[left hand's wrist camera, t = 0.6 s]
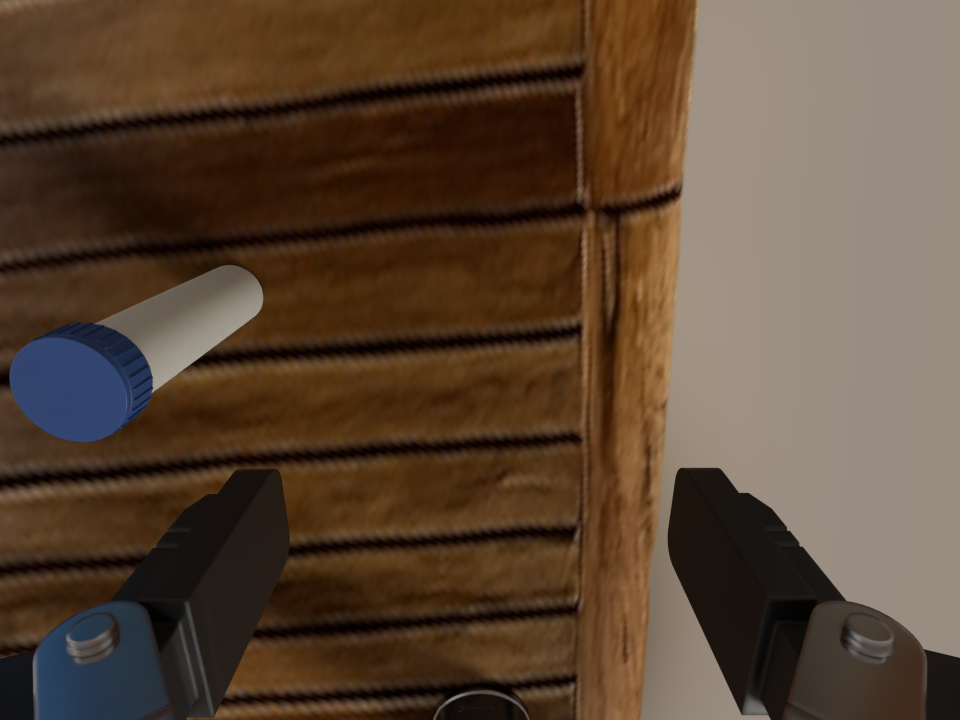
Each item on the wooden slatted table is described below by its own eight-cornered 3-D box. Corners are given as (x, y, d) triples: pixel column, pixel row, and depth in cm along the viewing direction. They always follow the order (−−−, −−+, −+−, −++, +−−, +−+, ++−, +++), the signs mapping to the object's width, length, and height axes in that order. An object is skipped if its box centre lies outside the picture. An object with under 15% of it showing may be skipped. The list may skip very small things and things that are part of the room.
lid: (177, 383, 26) (153, 402, 24) (106, 441, 27) (77, 463, 25) (92, 299, 25) (58, 312, 23) (20, 363, 26) (-18, 380, 24)
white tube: (275, 299, 40) (144, 396, 24) (234, 332, 41) (82, 446, 25) (233, 253, 39) (67, 323, 23) (192, 288, 40) (6, 378, 24)
